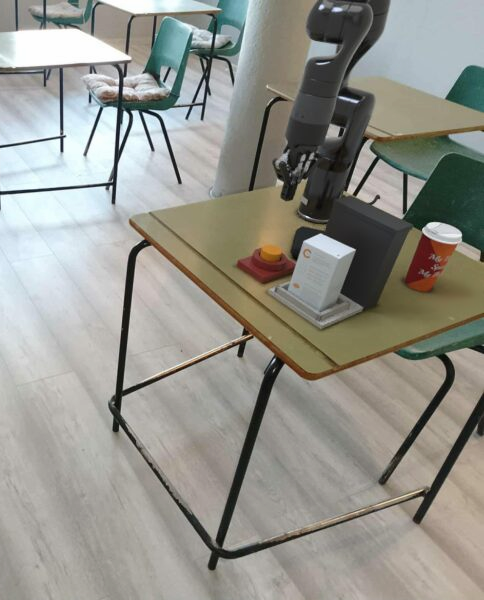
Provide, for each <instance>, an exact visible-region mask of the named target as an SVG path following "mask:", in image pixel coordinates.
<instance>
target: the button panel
mask: <svg viewBox="0 0 484 600" xmlns="http://www.w3.org/2000/svg"><path fill="white" fill-rule="evenodd" d="M261 249H262V247H259V248H256V249H254V251H253V253H252V254H251V255H249V256H247V257H244V258H240V259H238V260H237V262H236V267H237V268H238V269H240V270H241V271H243V272H244V273H245V274H247V275H248V276H250V277H251V278H253V279H254V280H256V281H257V282H259V283H260V284H262V285H263V284H266V283H270V282H271V281H274V280H277V279H280V278H283V277H286V276H287V275H288V276H289V275H291V274H293V272H294V269H295V266H296V263H295V262H294V261H292V260H290V259H288V258H287V256H286V254H285V253H283V252H282V254H281V258H280V260H279V261H278V262H270V261H266V260H264V259H262V258H261V257H260V253H261Z"/></svg>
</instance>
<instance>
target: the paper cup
mask: <svg viewBox="0 0 484 600" xmlns="http://www.w3.org/2000/svg"><path fill="white" fill-rule="evenodd" d="M421 232H422V233H421V236H420V237H419V241H418V244H417V245H416V249H415V251H414V253H413V256H412V259H411V262H410V264H409V267H408V270H407V272H406V275H405V278H404V283H405V285H406V286H407V287H408V288H410V289H412V290H414V291H417V292H423V293H425V292H430V291H431V290H432V288H433V287H434V285H435V284H436V282H437V281H438V279H439V277H440V275H441V274H442V272H443V270H444V269H445V267H446V265H447V264H448V262H449V260H450V259H451V257H452V255H453V254H454V252H455V250H456V249H457V247H458V245H460V244H461V243H462V242H463V238H462V237H463V234H462V232H461V230H460V229H458V228H456V227H455V226H453V225H451V224H447V223H444V222H440V221H439V222H438V221H433V222H432V221H431V222H428V223H427V224H426V225H425V226H424V227H423V228H422V230H421Z"/></svg>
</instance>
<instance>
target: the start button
mask: <svg viewBox="0 0 484 600" xmlns="http://www.w3.org/2000/svg"><path fill="white" fill-rule="evenodd" d="M261 248H262V249H261V253H260V257H261V258H262V259H264V260H266V261H270V262H278V261H279V260H280V258H281V254H282V253H283V249H282V248H281V247H279V246H277V245H274V244H264V245H262V247H261Z"/></svg>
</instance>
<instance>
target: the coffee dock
mask: <svg viewBox="0 0 484 600" xmlns="http://www.w3.org/2000/svg"><path fill="white" fill-rule="evenodd" d="M368 203H369V202H366V201H364V200H361V199H360V198H358V197H355V196H353V195H346V197H343V198H339V199H335V200H334V201H333V205H334V206H333V209H332V212H331V214H330V217H329V220H328V223H326V226H325V229H324V231H325V232H324V235H325V236H327V237H329V238H332V239H334V240H336V241H338V242H340V243H342V244H344V245H347V246H349V247H351V248H353V249H355V250H356V251H355V254H354V257H353V259H352V262H351V265H350V267H349V270H348V272H347V275H346V278H345V280H344V283H343V286H342V288H341V291H340V293H339V296H338V299H337V301H336V303H335V304H334V305H332V306H331V307H329V308H328V309H326V310H324V311H322V312H318V311H317V310H315V309H314V308H312V307H311V306H309V305H308V304H306V303H305V302H303V301H302V300H300V299H299V298H297V297H296V296H294V295H293V294H291V293H290V292H288V288H289V285H290V282H291V280H288V281H286V282H283V283H280V284H277V285H275V286H274V287H271V288H269V289H268V290H267V293H268V294H269V295H270V296H272V297H273V298H275V299H276V300H278V302H280V303H281V304H283V305H285V306H286V307H287V308H289V309H291V310H292V311H293V312H295V313H296V314H298V315H299V316H301V317H302V318H304V319H305V320H307V321H308V322H309V323H310V324H313V325H314V326H315V327H317V328H318V329H319V330H323V329H325V328H328V327H329V326H331V325H334V324H336V323H339V322H341V321H343V320H345V319H348V318H350V317H352V316H355V315H356V314H359V313H361V312H364V311H366V310H368V309H370V308H372V307H375V306H377V304H378V302H379V300H380V298H381V296H382V294H383V291H384V289H385V287H386V284H387V282H388V280H389V278H390V275H391V273H392V271H393V269H394V267H395V264H396V262H397V259H398V257H399V255H400V253H401V251H402V248H403V246H404V244H405V242H406V239H407V238H408V235H409V232H410V231H411V230H413V227H414V224H412V223H411V222H408V221H406V220H405V219H402V218H399V216H396V215H394V214H392V213H390V212H387V211H386V210H383V209H381V208H379V207H376V206H374V205H370V204H368Z"/></svg>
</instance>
